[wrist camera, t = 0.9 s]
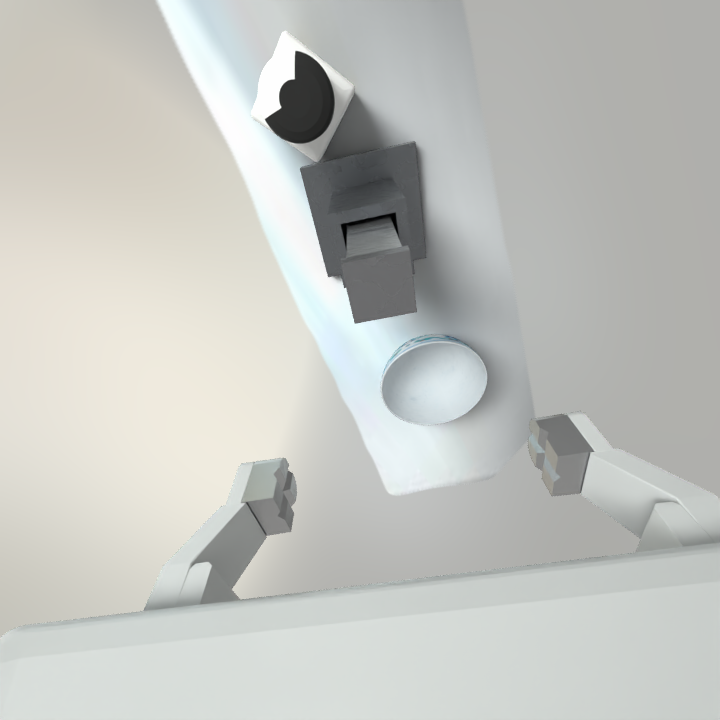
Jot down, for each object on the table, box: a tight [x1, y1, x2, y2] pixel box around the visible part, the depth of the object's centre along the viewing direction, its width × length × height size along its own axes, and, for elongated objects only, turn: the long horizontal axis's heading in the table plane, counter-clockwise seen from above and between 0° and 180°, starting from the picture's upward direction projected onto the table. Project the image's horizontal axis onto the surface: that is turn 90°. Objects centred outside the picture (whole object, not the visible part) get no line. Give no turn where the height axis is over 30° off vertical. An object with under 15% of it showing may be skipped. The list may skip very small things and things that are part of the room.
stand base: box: [300, 141, 426, 288], centre depth 39 cm, size 13×13×14 cm
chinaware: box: [381, 334, 487, 425], centre depth 53 cm, size 15×15×8 cm
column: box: [341, 214, 417, 323], centre depth 34 cm, size 5×5×22 cm
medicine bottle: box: [251, 31, 355, 162], centre depth 33 cm, size 7×7×12 cm
